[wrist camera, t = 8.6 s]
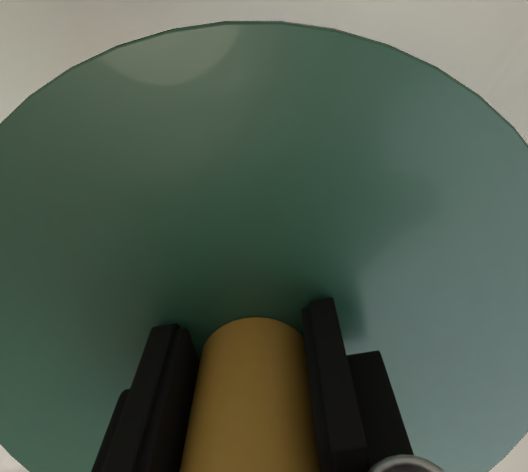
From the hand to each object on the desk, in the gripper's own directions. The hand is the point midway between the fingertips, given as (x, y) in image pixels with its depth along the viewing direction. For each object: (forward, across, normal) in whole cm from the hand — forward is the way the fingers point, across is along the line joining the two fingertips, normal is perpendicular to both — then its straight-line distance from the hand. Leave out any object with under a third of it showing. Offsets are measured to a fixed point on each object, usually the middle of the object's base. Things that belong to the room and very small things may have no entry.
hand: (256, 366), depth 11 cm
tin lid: (+1, 0, 0) cm, 1 cm away
